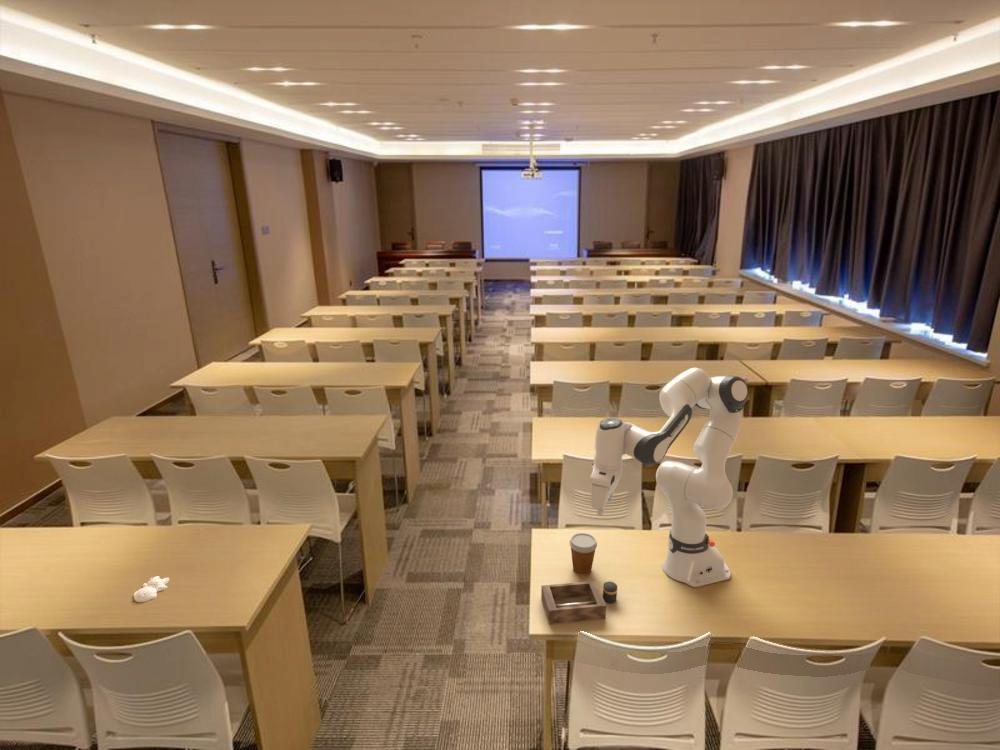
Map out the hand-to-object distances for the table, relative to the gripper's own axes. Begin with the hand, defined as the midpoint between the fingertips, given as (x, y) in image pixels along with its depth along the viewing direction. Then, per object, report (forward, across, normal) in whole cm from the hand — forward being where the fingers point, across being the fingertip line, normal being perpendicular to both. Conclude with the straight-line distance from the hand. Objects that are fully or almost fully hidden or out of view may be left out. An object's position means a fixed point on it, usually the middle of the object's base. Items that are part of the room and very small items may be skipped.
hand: (604, 507), depth 195 cm
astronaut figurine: (+32, +66, -134) cm, 153 cm away
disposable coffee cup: (+30, -5, -8) cm, 31 cm away
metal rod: (+27, +17, -3) cm, 32 cm away
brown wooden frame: (+30, +15, -4) cm, 34 cm away
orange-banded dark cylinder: (+30, +6, +5) cm, 30 cm away
